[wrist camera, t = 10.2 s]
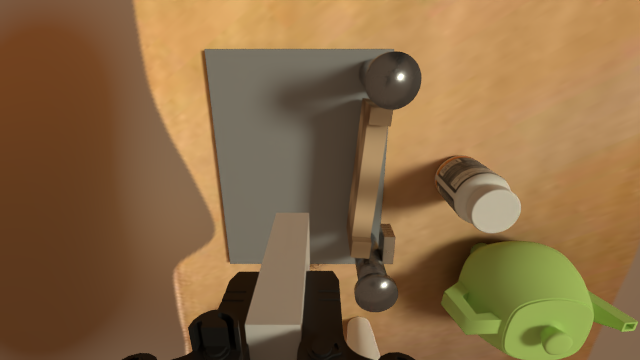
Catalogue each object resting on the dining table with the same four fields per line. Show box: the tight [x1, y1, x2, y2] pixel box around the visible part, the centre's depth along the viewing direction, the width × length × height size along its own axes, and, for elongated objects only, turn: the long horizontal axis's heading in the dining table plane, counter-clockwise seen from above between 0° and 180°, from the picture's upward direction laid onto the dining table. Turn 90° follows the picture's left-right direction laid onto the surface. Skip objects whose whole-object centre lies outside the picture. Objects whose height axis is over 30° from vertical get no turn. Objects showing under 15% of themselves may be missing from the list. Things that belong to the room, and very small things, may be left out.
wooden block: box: [346, 98, 393, 259], centre depth 35 cm, size 16×2×6 cm, turn 175°
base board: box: [205, 49, 394, 264], centre depth 39 cm, size 27×20×1 cm
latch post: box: [354, 224, 398, 312], centre depth 38 cm, size 6×5×11 cm
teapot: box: [441, 241, 638, 360], centre depth 39 cm, size 20×13×13 cm
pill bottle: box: [435, 156, 521, 233], centre depth 35 cm, size 6×6×10 cm
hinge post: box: [359, 52, 421, 110], centre depth 31 cm, size 4×4×11 cm
